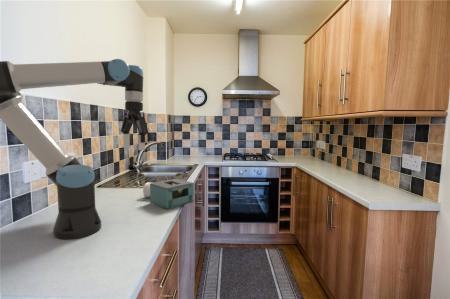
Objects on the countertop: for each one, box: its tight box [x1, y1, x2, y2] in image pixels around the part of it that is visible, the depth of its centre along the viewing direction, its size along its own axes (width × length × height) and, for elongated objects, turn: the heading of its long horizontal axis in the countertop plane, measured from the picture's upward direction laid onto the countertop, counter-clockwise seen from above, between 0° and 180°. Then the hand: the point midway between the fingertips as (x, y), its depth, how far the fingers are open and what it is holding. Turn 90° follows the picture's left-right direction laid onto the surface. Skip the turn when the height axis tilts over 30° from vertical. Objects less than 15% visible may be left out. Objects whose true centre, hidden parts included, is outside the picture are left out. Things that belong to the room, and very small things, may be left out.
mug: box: [142, 182, 151, 198], centre depth 138 cm, size 12×10×8 cm
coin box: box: [149, 178, 194, 210], centre depth 127 cm, size 16×14×10 cm
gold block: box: [171, 184, 183, 199], centre depth 127 cm, size 6×3×7 cm, turn 48°
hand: (133, 149), depth 115 cm, fingers open, 13 cm apart
